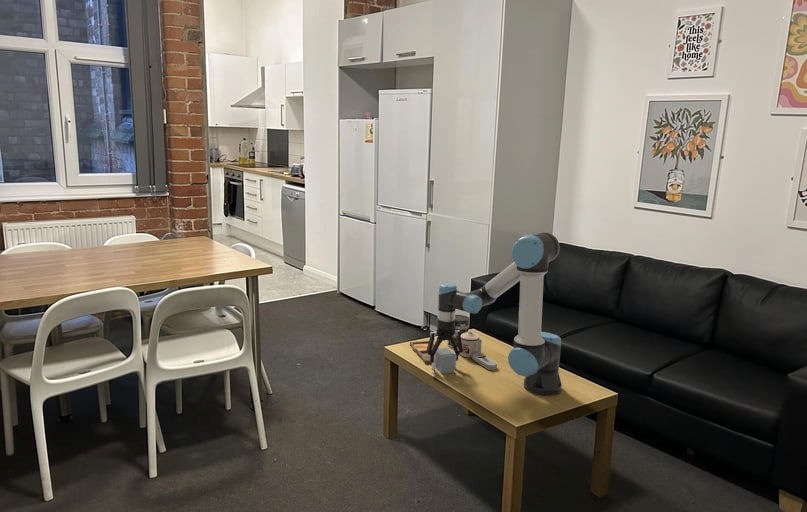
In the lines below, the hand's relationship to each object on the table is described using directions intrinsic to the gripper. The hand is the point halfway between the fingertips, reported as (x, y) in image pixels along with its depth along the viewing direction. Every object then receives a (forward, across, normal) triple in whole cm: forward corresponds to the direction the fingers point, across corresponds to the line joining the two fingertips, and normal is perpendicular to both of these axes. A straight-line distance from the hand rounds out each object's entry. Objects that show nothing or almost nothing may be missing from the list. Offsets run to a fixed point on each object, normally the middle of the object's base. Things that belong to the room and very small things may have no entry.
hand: (443, 368), depth 248 cm
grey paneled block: (0, 0, 0) cm, 0 cm away
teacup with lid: (0, -18, -12) cm, 22 cm away
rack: (0, +1, -19) cm, 19 cm away
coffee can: (+1, -17, -27) cm, 32 cm away
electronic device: (0, -20, -1) cm, 20 cm away
